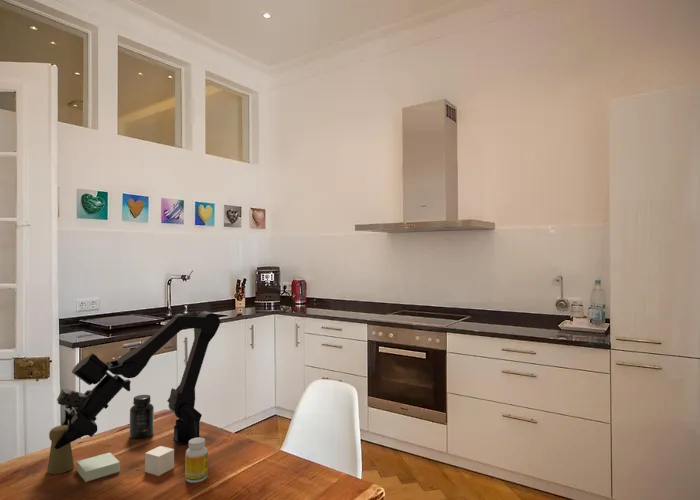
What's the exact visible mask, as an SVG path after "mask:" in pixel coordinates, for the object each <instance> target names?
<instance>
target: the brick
mask: <svg viewBox="0 0 700 500" xmlns="http://www.w3.org/2000/svg"><path fill="white" fill-rule="evenodd" d="M173 469H175V449H174V448H171V447H167V446H162V445H159V446H157V447H155V448H152V449H151V450H148V451H147V452H145V453H144V472H145V473H148V474H151V475H155V476H157V477H159V476H161V475H163V474H164V473H167V472H169V471H171V470H173Z"/></svg>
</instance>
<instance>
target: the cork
mask: <svg viewBox="0 0 700 500" xmlns="http://www.w3.org/2000/svg"><path fill="white" fill-rule="evenodd" d="M67 428H68V425H62V424H61V425H56V426H54V427H53V428H51V429H50V431H49V434H48V438H49V440H50V441H51V442H50V443H51V444H50V449H49V450H50V451H49V456H48V463H47V469H46V473H47V474H49V475H58V474H62V473H63V474H64V473H65V472H68V471H70V470H72V469H74V467H75V464H74V458H73V457H74V456H73V450H72V442H71V443H69V444H67V445H65V446H63V447H61V448H59V449H56V448H54V446H55V444H56V443H57V441H58V440H59V439H60V437H61V436H62V435H63V433H64V432H65V431H66V429H67Z"/></svg>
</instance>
